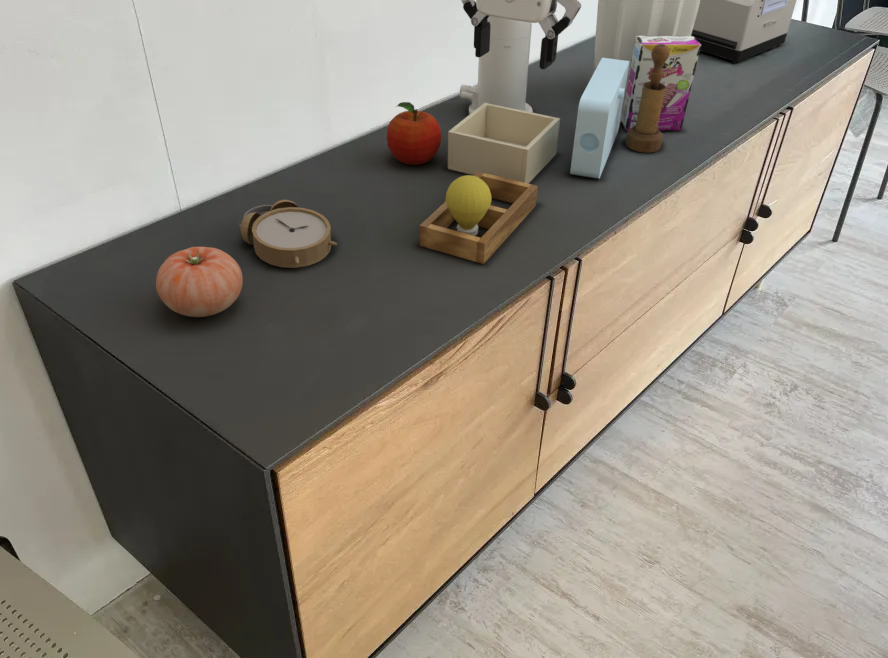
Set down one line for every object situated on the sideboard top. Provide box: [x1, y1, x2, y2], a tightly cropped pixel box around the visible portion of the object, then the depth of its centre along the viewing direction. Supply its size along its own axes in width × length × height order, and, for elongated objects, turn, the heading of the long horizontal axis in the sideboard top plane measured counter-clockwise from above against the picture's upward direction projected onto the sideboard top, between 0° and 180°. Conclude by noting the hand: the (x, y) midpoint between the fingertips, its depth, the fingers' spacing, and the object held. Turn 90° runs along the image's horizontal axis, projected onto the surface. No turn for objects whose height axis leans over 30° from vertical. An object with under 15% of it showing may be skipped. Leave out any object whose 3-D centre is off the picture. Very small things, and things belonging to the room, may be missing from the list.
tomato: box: [155, 246, 244, 318], centre depth 101 cm, size 11×11×8 cm
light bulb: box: [445, 174, 492, 237], centre depth 115 cm, size 7×7×10 cm
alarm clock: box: [238, 199, 338, 269], centre depth 115 cm, size 11×5×15 cm
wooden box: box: [447, 103, 561, 184], centre depth 136 cm, size 15×15×7 cm
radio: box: [569, 58, 630, 180], centre depth 138 cm, size 23×6×13 cm, turn 162°
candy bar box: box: [620, 36, 701, 132], centre depth 146 cm, size 11×5×16 cm, turn 94°
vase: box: [593, 0, 700, 104], centre depth 154 cm, size 20×20×27 cm
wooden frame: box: [419, 171, 539, 265], centre depth 120 cm, size 11×20×4 cm, turn 153°
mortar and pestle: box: [625, 44, 669, 154], centre depth 139 cm, size 7×6×18 cm
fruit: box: [386, 101, 442, 166], centre depth 135 cm, size 10×10×10 cm
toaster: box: [691, 0, 797, 64], centre depth 185 cm, size 23×25×17 cm
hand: (513, 60), depth 108 cm, fingers open, 9 cm apart
